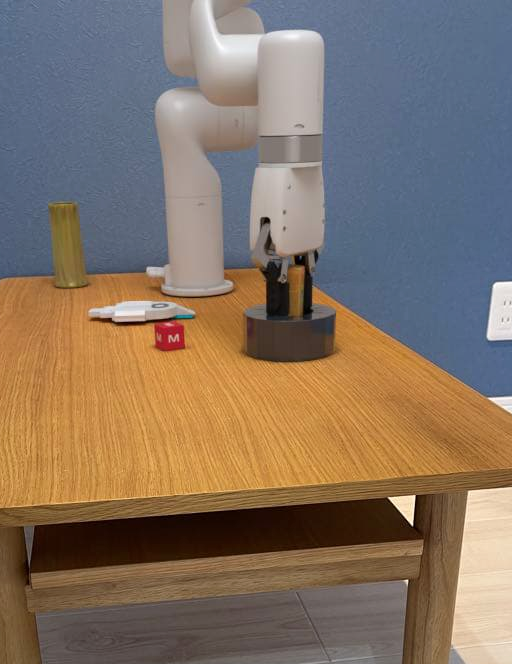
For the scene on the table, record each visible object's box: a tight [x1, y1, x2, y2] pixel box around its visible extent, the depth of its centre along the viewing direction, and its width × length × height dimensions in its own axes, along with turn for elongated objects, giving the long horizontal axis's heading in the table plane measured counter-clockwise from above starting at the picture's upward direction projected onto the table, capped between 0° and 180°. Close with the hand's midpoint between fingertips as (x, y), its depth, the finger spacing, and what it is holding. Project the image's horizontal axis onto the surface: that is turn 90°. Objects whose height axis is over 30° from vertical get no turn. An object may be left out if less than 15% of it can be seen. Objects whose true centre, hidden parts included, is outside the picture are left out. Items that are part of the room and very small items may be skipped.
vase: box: [47, 201, 89, 289], centre depth 155 cm, size 6×6×14 cm
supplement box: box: [275, 263, 305, 316], centre depth 108 cm, size 3×3×10 cm
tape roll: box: [242, 302, 337, 363], centre depth 109 cm, size 12×12×5 cm
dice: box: [153, 320, 186, 352], centre depth 113 cm, size 3×3×3 cm
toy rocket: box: [88, 300, 196, 323], centre depth 130 cm, size 16×10×2 cm, turn 88°
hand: (289, 309), depth 108 cm, fingers closed on supplement box, 4 cm apart
